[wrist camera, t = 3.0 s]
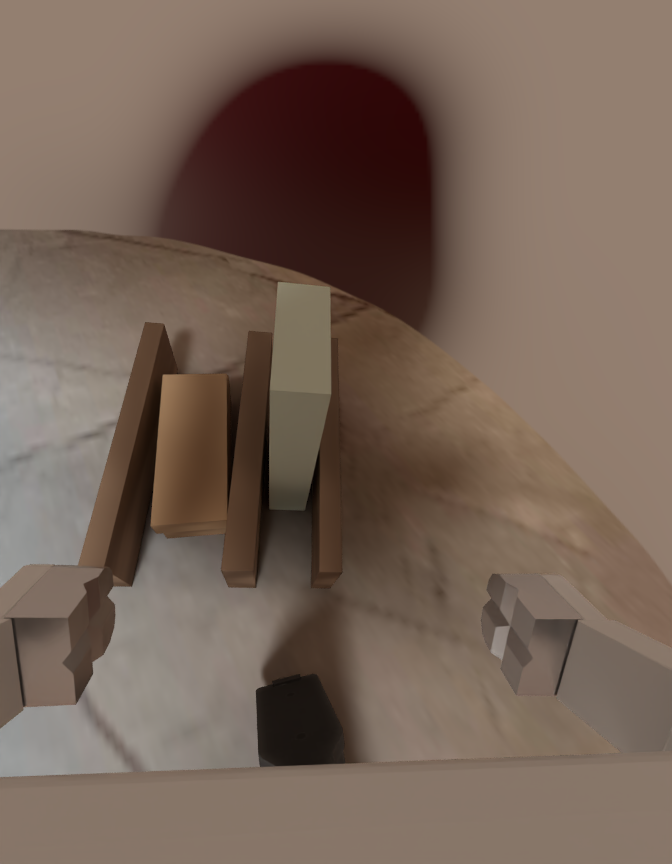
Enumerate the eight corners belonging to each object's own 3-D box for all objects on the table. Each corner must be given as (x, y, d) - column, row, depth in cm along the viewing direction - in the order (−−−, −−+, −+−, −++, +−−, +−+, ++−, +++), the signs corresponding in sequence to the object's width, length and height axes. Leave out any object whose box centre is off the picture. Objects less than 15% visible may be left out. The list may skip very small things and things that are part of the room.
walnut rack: (110, 586, 25) (77, 568, 21) (161, 368, 33) (145, 322, 28) (330, 588, 27) (342, 572, 22) (328, 380, 34) (337, 338, 30)
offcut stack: (167, 547, 27) (150, 525, 23) (176, 400, 32) (163, 362, 28) (232, 541, 27) (227, 519, 24) (231, 398, 33) (226, 361, 29)
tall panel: (269, 509, 29) (269, 390, 16) (274, 431, 31) (278, 281, 19) (304, 510, 29) (331, 394, 17) (306, 433, 32) (330, 286, 20)
